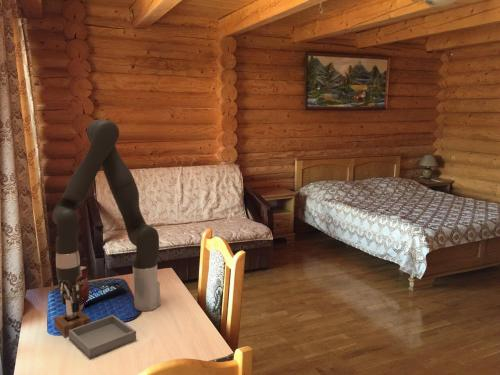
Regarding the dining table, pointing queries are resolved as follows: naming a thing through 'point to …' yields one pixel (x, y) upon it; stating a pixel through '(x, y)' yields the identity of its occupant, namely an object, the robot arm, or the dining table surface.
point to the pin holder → (70, 323)
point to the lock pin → (69, 309)
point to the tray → (102, 336)
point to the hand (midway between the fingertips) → (70, 307)
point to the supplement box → (83, 285)
